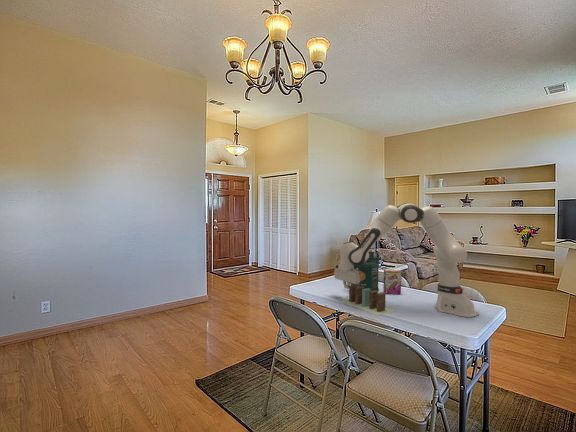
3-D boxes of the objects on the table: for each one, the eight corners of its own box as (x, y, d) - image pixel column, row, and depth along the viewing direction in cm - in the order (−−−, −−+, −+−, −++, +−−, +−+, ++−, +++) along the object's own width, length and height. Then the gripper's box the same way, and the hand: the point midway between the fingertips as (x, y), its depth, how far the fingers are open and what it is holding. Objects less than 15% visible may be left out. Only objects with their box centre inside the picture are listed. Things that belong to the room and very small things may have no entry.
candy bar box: (384, 294, 213) (384, 270, 213) (383, 292, 218) (383, 269, 218) (401, 294, 212) (401, 271, 212) (399, 292, 217) (399, 269, 217)
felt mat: (396, 311, 176) (396, 310, 176) (378, 316, 168) (378, 315, 168) (356, 298, 202) (356, 297, 202) (339, 301, 194) (339, 301, 194)
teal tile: (370, 305, 185) (370, 288, 185) (364, 306, 183) (364, 290, 183) (367, 304, 187) (368, 288, 187) (362, 305, 184) (362, 289, 184)
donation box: (378, 291, 219) (379, 252, 219) (367, 296, 208) (368, 254, 207) (358, 287, 230) (358, 250, 230) (347, 291, 218) (347, 252, 218)
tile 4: (363, 303, 190) (363, 287, 190) (357, 304, 187) (358, 288, 187) (361, 302, 192) (361, 286, 192) (355, 303, 189) (355, 287, 189)
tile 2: (377, 307, 181) (377, 291, 181) (371, 309, 178) (372, 292, 178) (375, 307, 182) (375, 290, 182) (369, 308, 180) (369, 291, 180)
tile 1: (385, 310, 176) (385, 293, 176) (379, 311, 173) (379, 294, 173) (382, 309, 178) (382, 292, 178) (376, 311, 175) (376, 293, 175)
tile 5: (357, 300, 195) (357, 285, 194) (351, 302, 192) (351, 286, 192) (354, 300, 196) (354, 284, 196) (349, 301, 193) (349, 285, 193)
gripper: (362, 268, 192) (362, 291, 192) (339, 264, 209) (339, 284, 209) (355, 269, 188) (354, 292, 189) (332, 265, 206) (332, 285, 206)
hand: (346, 288), depth 199 cm, fingers closed
